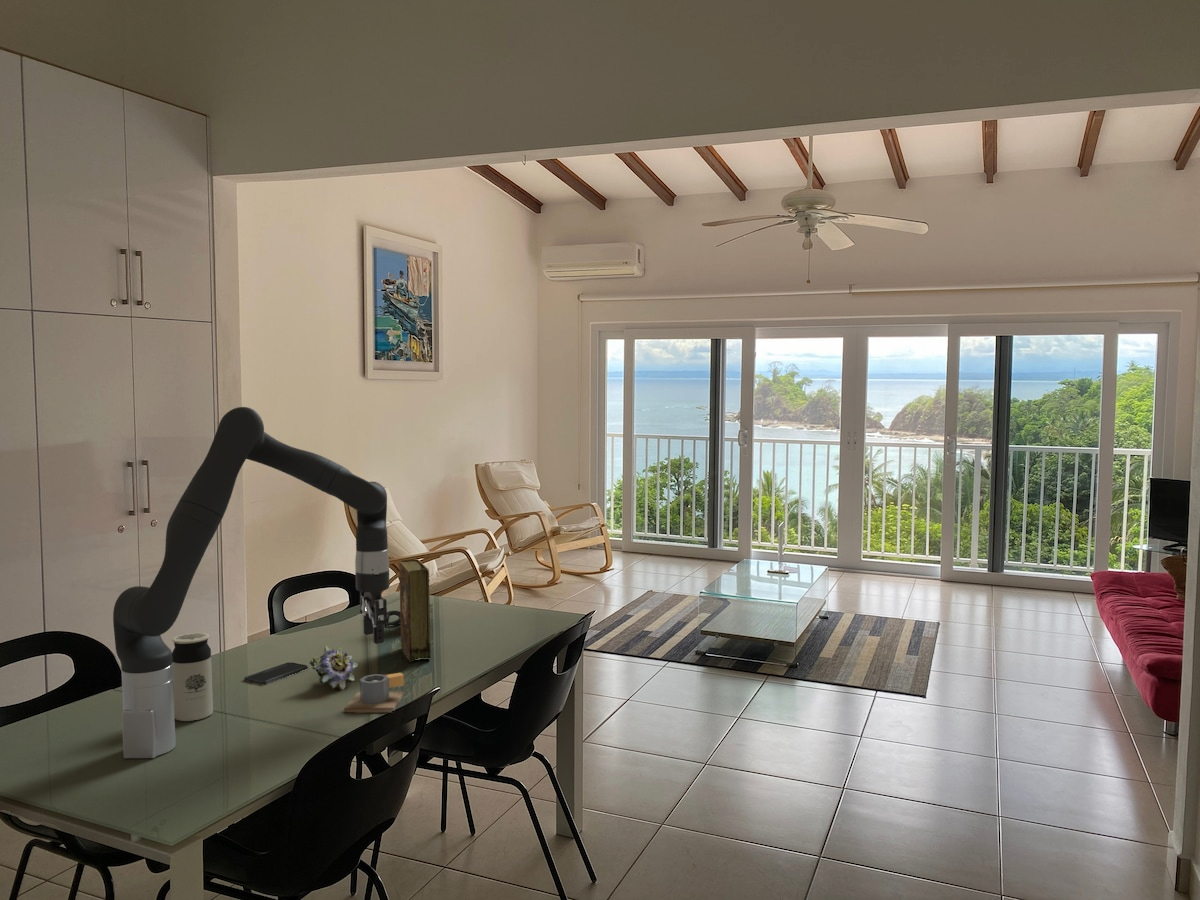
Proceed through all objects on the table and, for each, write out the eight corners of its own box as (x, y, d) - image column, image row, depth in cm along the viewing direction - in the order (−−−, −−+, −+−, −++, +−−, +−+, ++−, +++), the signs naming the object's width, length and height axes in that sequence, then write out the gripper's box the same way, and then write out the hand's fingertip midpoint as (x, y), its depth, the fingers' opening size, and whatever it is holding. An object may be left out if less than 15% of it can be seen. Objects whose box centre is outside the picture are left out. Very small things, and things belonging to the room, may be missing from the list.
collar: (365, 706, 202) (364, 684, 201) (358, 698, 207) (357, 677, 207) (406, 698, 207) (406, 677, 206) (398, 691, 212) (398, 670, 211)
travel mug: (175, 712, 201) (172, 634, 200) (214, 707, 204) (211, 630, 203) (172, 724, 194) (169, 643, 193) (212, 719, 197) (209, 639, 196)
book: (400, 647, 251) (398, 560, 250) (419, 645, 253) (417, 558, 252) (410, 663, 236) (408, 571, 235) (430, 661, 238) (428, 569, 237)
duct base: (393, 712, 200) (392, 688, 200) (344, 712, 200) (343, 688, 200) (404, 695, 211) (403, 672, 211) (358, 695, 211) (357, 672, 211)
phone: (310, 666, 233) (263, 682, 220) (310, 670, 233) (263, 686, 220) (288, 661, 236) (242, 677, 223) (289, 666, 237) (242, 682, 223)
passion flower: (342, 710, 217) (326, 681, 209) (309, 696, 222) (292, 666, 214) (370, 675, 224) (357, 645, 217) (338, 661, 229) (323, 632, 221)
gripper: (348, 565, 208) (349, 633, 209) (364, 576, 196) (365, 648, 197) (379, 562, 212) (381, 629, 213) (397, 572, 199) (398, 643, 200)
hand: (373, 638), depth 205 cm, fingers open, 8 cm apart
